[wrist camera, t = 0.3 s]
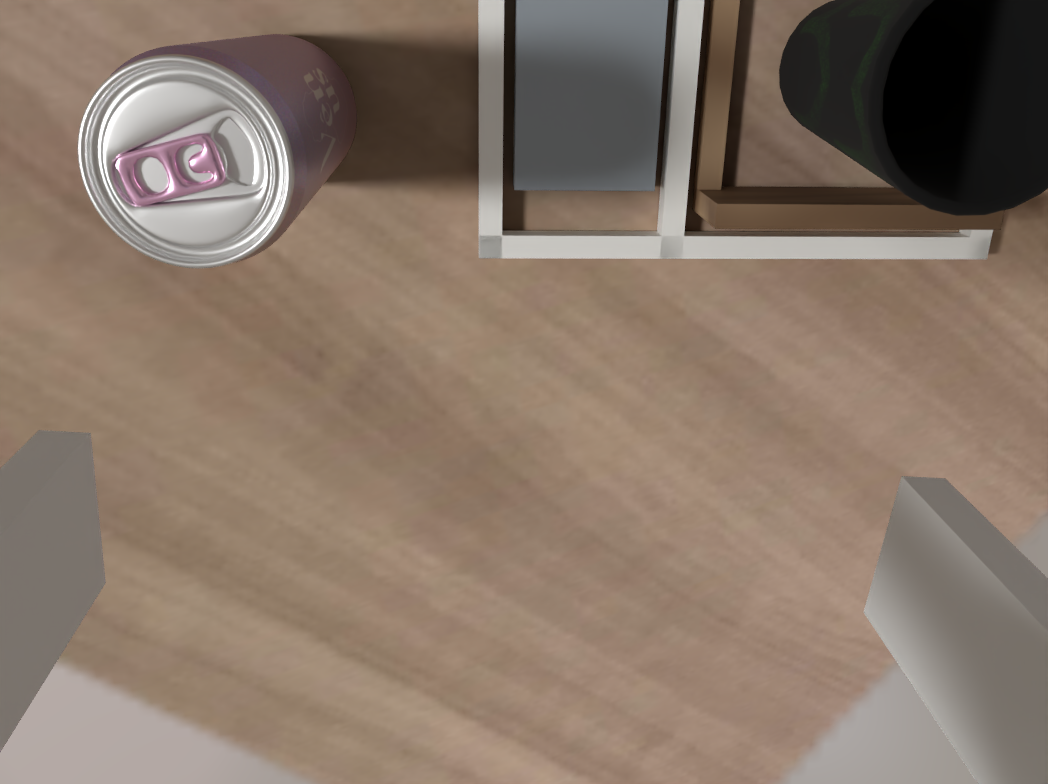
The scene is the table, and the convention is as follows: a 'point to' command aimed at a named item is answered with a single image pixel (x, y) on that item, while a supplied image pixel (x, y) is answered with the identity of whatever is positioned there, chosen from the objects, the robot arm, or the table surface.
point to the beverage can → (214, 145)
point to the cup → (929, 95)
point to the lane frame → (627, 137)
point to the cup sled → (789, 202)
